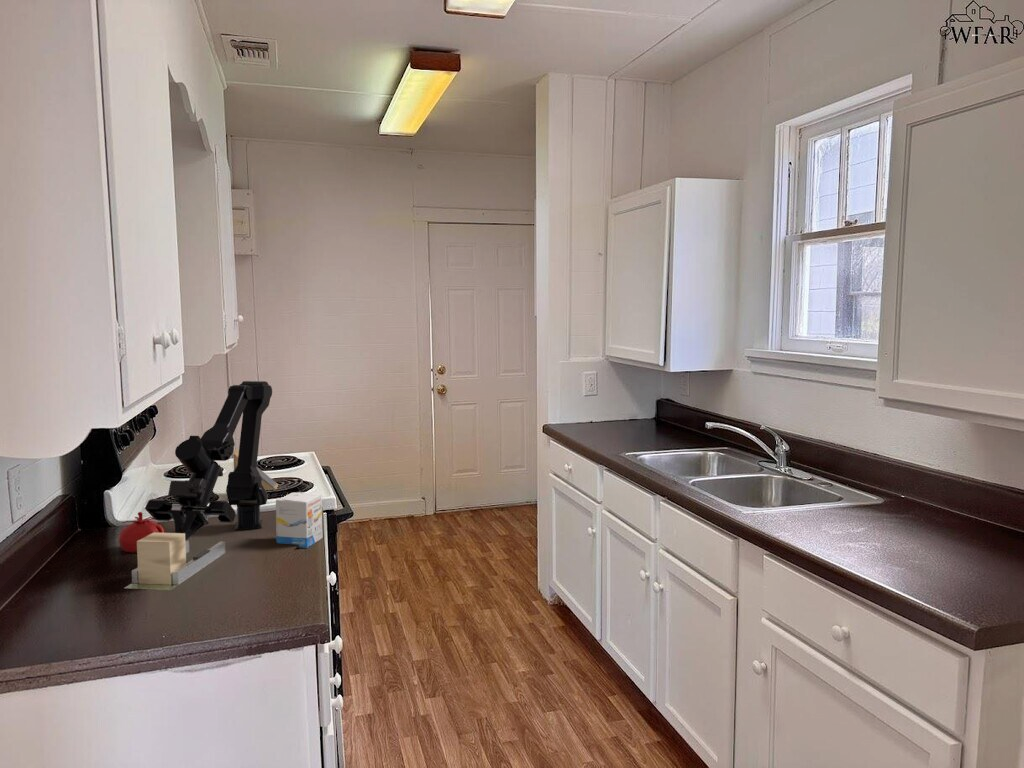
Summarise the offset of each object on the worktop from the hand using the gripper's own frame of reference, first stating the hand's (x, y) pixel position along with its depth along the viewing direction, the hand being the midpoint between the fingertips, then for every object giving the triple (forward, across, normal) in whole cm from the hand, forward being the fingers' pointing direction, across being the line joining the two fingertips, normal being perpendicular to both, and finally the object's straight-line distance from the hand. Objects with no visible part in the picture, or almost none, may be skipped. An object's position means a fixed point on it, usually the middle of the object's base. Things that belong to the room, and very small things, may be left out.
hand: (177, 545), depth 153 cm
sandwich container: (-41, -10, +52) cm, 67 cm away
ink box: (-12, +18, +21) cm, 30 cm away
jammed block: (+8, 0, -1) cm, 8 cm away
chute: (+4, 0, +5) cm, 6 cm away
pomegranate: (-5, -17, +14) cm, 22 cm away
